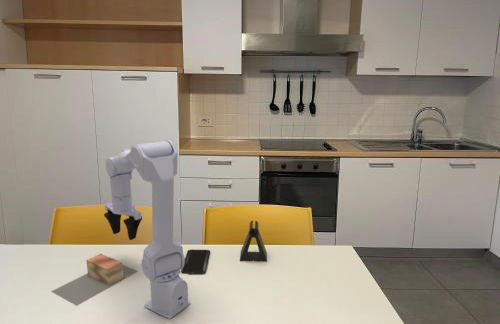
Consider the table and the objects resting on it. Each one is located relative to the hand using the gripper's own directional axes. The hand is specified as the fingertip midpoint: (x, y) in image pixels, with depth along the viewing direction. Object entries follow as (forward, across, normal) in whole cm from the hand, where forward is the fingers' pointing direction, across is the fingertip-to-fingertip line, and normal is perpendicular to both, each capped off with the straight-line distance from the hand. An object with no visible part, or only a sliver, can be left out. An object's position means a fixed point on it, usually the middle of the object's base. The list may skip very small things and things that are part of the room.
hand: (124, 235), depth 118 cm
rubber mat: (+10, 0, +11) cm, 15 cm away
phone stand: (+11, -31, -28) cm, 43 cm away
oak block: (+10, 0, +8) cm, 13 cm away
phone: (+11, -17, -14) cm, 25 cm away
